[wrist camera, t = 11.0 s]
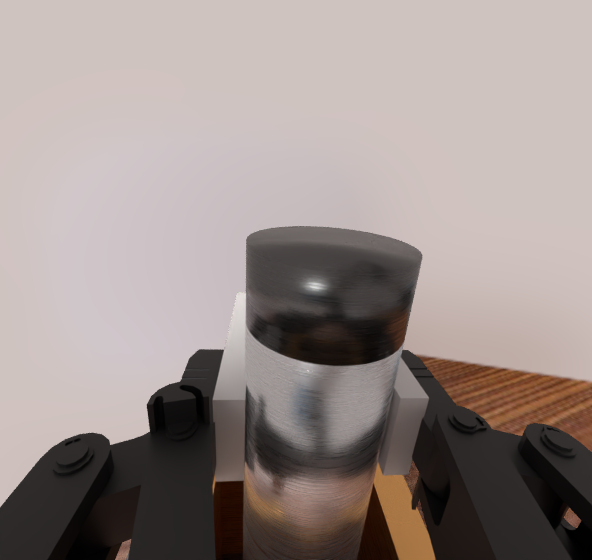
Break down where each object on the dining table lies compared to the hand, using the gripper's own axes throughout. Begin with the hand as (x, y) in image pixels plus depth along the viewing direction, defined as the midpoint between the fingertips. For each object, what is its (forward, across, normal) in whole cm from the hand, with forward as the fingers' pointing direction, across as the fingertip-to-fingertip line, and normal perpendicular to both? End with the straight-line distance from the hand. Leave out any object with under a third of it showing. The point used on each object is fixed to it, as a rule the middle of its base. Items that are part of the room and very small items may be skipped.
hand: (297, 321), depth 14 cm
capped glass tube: (-5, 0, -7) cm, 9 cm away
